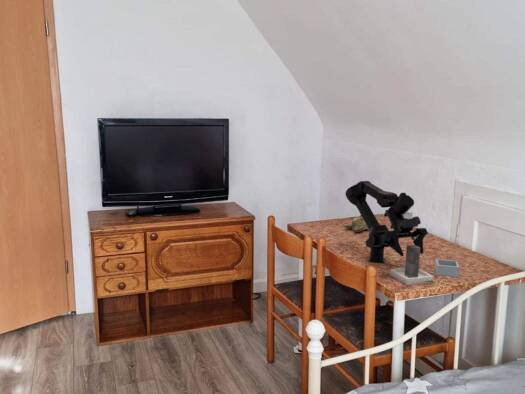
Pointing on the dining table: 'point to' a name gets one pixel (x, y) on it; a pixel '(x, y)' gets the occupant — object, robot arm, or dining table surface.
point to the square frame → (447, 268)
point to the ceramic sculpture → (357, 224)
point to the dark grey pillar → (412, 261)
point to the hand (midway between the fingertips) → (412, 254)
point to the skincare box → (408, 215)
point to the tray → (421, 278)
